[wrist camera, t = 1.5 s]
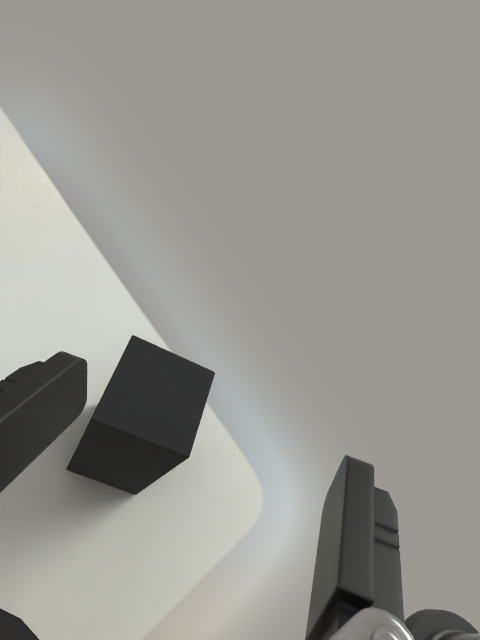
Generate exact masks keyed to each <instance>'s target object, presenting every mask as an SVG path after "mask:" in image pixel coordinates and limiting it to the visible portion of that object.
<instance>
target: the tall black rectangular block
mask: <svg viewBox="0 0 480 640" xmlns="http://www.w3.org/2000/svg"><path fill="white" fill-rule="evenodd" d="M214 374H215V373H214V372H213V371H211V370H209V369H207V368H205V367H202V366H200V365H198V364H196V363H193V362H191V361H189V360H187V359H185V358H182V357H180V356H178V355H176V354H174V353H171V352H169V351H167V350H165V349H163V348H160V347H158V346H156V345H154V344H152V343H149V342H147V341H145V340H143V339H141V338H138V337H136V336H134V335H133V336H132V337H131V339H130V341H129V343H128V345H127V347H126V349H125V351H124V353H123V355H122V357H121V359H120V361H119V363H118V365H117V367H116V369H115V371H114V373H113V375H112V377H111V379H110V381H109V383H108V385H107V387H106V389H105V391H104V394H103V396H102V398H101V400H100V402H99V404H98V406H97V408H96V410H95V412H94V414H93V416H92V418H91V420H90V422H89V424H88V426H87V428H86V430H85V432H84V434H83V436H82V438H81V440H80V442H79V444H78V447H77V449H76V451H75V453H74V455H73V457H72V459H71V461H70V463H69V465H68V467H67V470H68V471H71V472H74V473H77V474H80V475H82V476H85V477H88V478H91V479H93V480H96V481H99V482H102V483H105V484H107V485H110V486H113V487H116V488H118V489H121V490H124V491H127V492H129V493H132V494H135V495H136V494H138V493H139V492H140V491H142V490H143V489H145V488H146V487H148V486H149V485H150V484H152V483H153V482H155V481H156V480H157V479H159V478H160V477H162V476H163V475H165V474H166V473H167V472H169V471H170V470H172V469H173V468H174V467H176V466H177V465H179V464H180V463H182V462H183V461H184V460H186V459H187V458H189V456H190V453H191V450H192V446H193V443H194V440H195V437H196V433H197V430H198V427H199V424H200V420H201V417H202V414H203V410H204V407H205V404H206V401H207V397H208V394H209V390H210V388H211V384H212V381H213V378H214Z"/></svg>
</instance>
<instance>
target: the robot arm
mask: <svg viewBox="0 0 480 640" xmlns="http://www.w3.org/2000/svg"><path fill="white" fill-rule="evenodd" d="M86 400H87V362H86V360H85V359H82V358H79V357H77V356H74V355H71V354H69V353H66V352H58V353H56V354H55V355H54V356H52V357H51V358H49V359H48V360H46V361H45V362H44V363H43V362H40V361H38V362H35V363H32V364H30V365H27V366H24V367H21V368H19V369H18V370H16V371H15V372H13V373H12V374H10V375H9V376H7V377H6V378H5V380H2V381H0V493H1V492H2V491H3V490H4V489H5V488H6V487H7V486H8V485H9V484H10V483H11V482H12V481H13V480H14V479H15V478H16V477H17V476H18V475H19V474H20V473H21V472H22V471H23V470H24V469H25V468H26V467H27V466H28V465H29V464H30V463H31V462H32V461H33V460H35V459H36V458H37V457H38V456H39V455H40V454H41V453H42V452H43V451H44V450H45V449H46V448H47V447H48V446H49V445H50V444H51V443H52V442H53V441H54V440H55V439H56V438H57V437H58V436H59V435H60V434H61V433H62V432H63V431H64V430H65V429H66V428H67V427H68V426H69V425H70V424H71V423H73V422H74V421H75V420H76V419H77V418H78V416H79V415H80V414H81V412H82V411H83V409H84V406H85V404H86ZM0 640H39V639H38V638H37V636H36V635H35V634H34V633H33V632H32V631H31V630H30V629H29V628H28V626H27V625H26V624H25V623H24V622H23V621H22V620H21V619H20V618H18V617H16V616H14V615H12V614H10V613H8V612H6V611H4V610H2V609H0ZM305 640H415V639H414V638H413V636H412V634H411V633H410V632H409V630H408V629H407V628H406V624H405V621H404V613H403V597H402V580H401V564H400V551H399V535H398V516H397V510H396V508H395V506H394V504H393V501H392V499H391V497H390V495H389V493H388V492H387V491H384V490H381V489H378V488H376V487H374V467H373V465H372V464H369V463H366V462H364V461H361V460H358V459H355V458H353V457H350V456H347V455H346V456H345V457H344V458H343V460H342V462H341V464H340V467H339V469H338V471H337V473H336V475H335V478H334V480H333V482H332V484H331V486H330V488H329V491H328V493H327V496H326V499H325V503H324V507H323V511H322V518H321V525H320V533H319V540H318V548H317V555H316V563H315V570H314V578H313V585H312V593H311V600H310V607H309V616H308V623H307V630H306V638H305ZM426 640H480V634H474V633H466V632H463V631H460V630H452V629H441V630H438V631H435V632H434V633H432V634H431V635H430V636H429V637H428V638H427V639H426Z"/></svg>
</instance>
